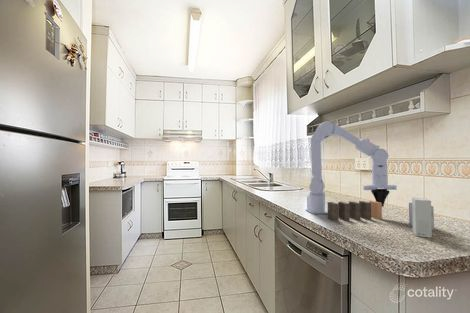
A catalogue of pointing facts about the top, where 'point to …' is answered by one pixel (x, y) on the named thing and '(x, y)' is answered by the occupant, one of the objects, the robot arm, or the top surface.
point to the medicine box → (412, 218)
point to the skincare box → (421, 217)
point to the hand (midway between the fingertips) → (380, 206)
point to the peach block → (376, 209)
